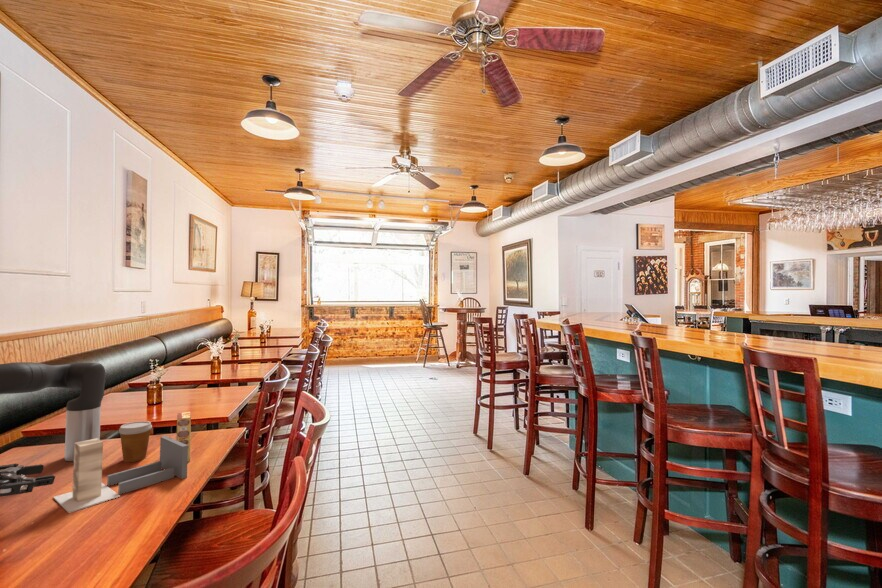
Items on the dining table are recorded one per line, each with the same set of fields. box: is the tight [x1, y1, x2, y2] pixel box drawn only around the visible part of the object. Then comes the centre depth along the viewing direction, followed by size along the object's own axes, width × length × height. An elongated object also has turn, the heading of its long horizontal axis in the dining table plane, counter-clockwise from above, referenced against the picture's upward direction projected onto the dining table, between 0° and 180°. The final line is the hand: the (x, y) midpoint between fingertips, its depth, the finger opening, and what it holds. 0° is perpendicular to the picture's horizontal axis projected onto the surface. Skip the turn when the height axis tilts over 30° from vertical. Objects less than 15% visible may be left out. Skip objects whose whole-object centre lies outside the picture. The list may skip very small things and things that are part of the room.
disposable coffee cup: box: [118, 420, 153, 463], centre depth 143 cm, size 10×10×12 cm
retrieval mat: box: [52, 482, 121, 514], centre depth 114 cm, size 14×11×1 cm
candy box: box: [175, 411, 192, 462], centre depth 144 cm, size 9×4×15 cm, turn 33°
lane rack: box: [106, 435, 188, 495], centre depth 126 cm, size 16×16×10 cm
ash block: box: [72, 438, 104, 502], centre depth 114 cm, size 5×5×15 cm
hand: (47, 473), depth 108 cm, fingers open, 8 cm apart
